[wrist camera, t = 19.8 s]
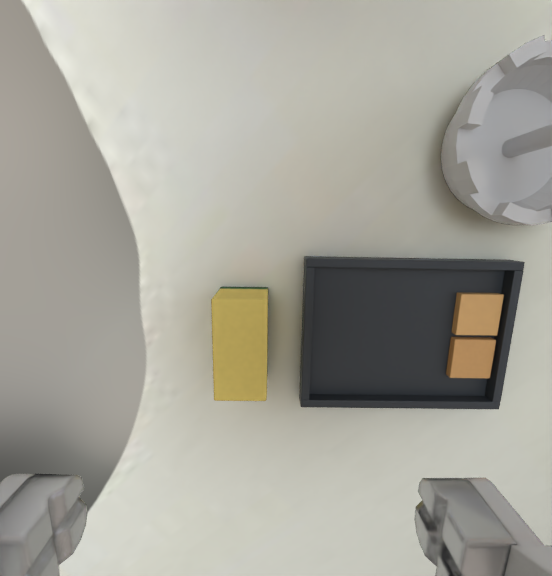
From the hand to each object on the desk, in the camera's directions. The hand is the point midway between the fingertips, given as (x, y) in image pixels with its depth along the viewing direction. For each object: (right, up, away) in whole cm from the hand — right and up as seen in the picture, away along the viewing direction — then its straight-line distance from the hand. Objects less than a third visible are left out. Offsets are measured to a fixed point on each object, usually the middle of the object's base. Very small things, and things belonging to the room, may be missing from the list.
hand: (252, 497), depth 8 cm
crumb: (+20, -2, +24) cm, 31 cm away
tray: (+13, +1, +24) cm, 27 cm away
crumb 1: (+20, +3, +23) cm, 30 cm away
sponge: (-2, +1, +23) cm, 24 cm away
